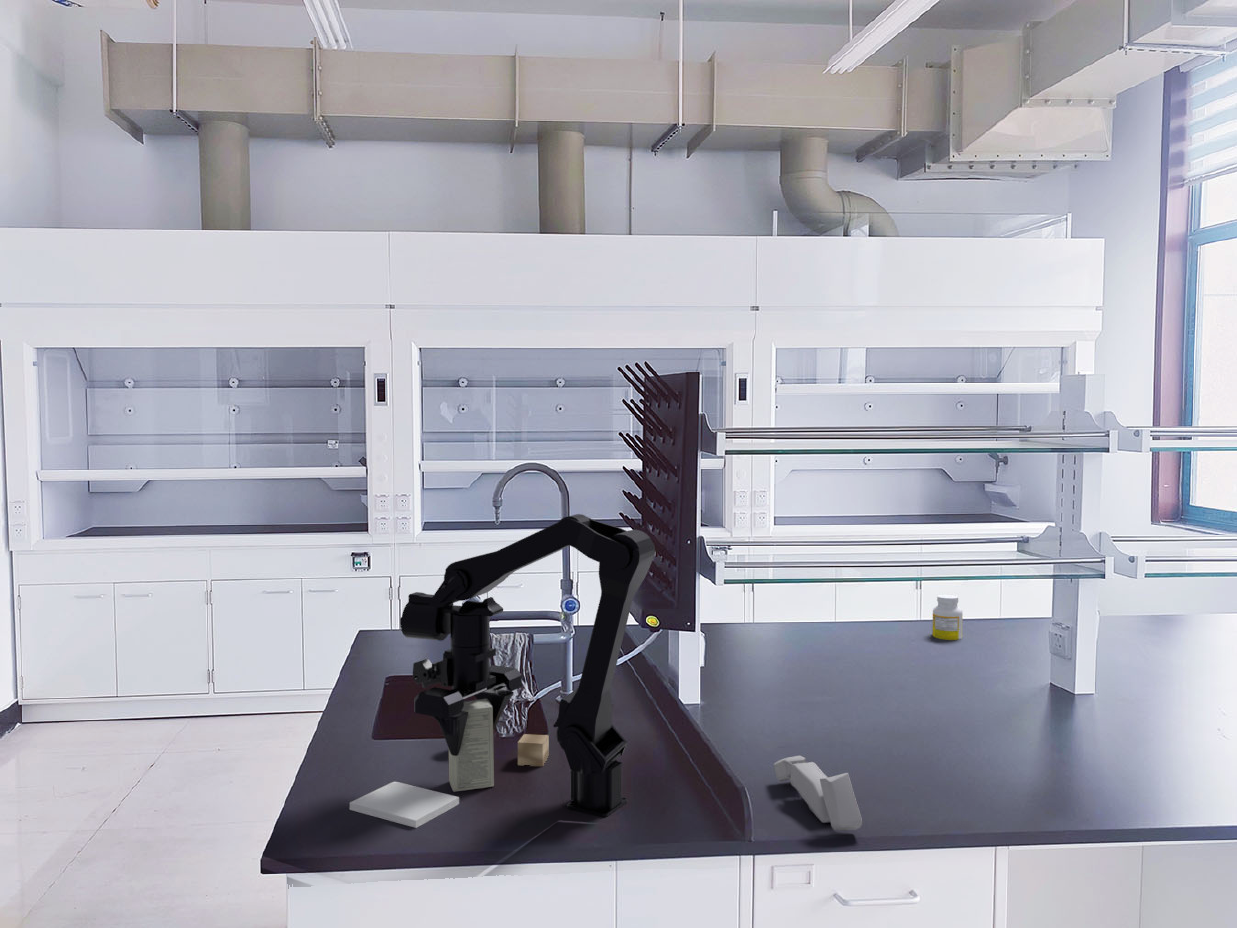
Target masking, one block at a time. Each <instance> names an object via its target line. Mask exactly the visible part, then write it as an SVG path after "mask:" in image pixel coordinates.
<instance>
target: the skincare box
mask: <svg viewBox="0 0 1237 928" xmlns="http://www.w3.org/2000/svg"><path fill="white" fill-rule="evenodd" d="M462 711H466V712H468V717H467V722H466V726H465V730H464V735H463V739H462V744H461V748H460V751H459V754H458V755H457V756H454V755H451V753H450V750H449V749H448V779H449V781H448V782H449V784H450V787H451V790H452V792H454V793H455V792H462V791H463V792H464V791H469V790H475V789H477V790H478V789H485V788H486V789H487V788H491V787H494V785H495V775H494V774H495V773H494V771H495V769H494V768H495V767H494V732H493V707H492V705H491V704H490V702H489V701H488V699H479V700H477V699H473V700H472V699H471V700H464V707H463V709H462Z"/></svg>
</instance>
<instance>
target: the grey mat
mask: <svg viewBox="0 0 1237 928" xmlns="http://www.w3.org/2000/svg"><path fill="white" fill-rule="evenodd" d="M459 805H460V797H459V796H455V795H453V794H448V793H443V792H440V791H435V790H432V789H427V788H424V787H419V786H416V785H411V784H407V783H404V782H398V781H392V782H389V783H388V784H385V785H384V786H382V787H379V788H377V789H376V790H373V791H371V792H369V793H367V794H365V795H362V796H360V797H358V798H357V799H355V800H352V801H350V802H349V811H353V812H357V813H360V814H363V815H367V816H372V817H375V818H379V819H382V820H386V821H389V822H392V823H397V824H400V825H404V826H407V827H412V828H415V829H417V828H418V827H420V826H422V825H424V824H426V823H428V822H431V820H433V819H435V818H436V817H439V816H441V815H442V814H444V813H446V812H448V811H450V810H451V809H453V808H455V807H456V806H459Z"/></svg>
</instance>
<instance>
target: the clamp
mask: <svg viewBox="0 0 1237 928" xmlns="http://www.w3.org/2000/svg"><path fill="white" fill-rule="evenodd" d="M773 767H774V768H773V769H774V772H775V777H776V779H777V780H778V782H786V781H790V785H791V786H792V787H793V788H794V789H796V791H797V792H798V793H799V794H800V796H801V797H802V798H803V800H804V801H805V803H806V804H807V806H808V808H809V811H811V812H812V814H813V815H814V816H815V817H816V818H817V819H818V820H819V821H820V822H821V823H822V824H826V823H827V824H828V823H830V825H831V828H832V829H833V830H834V831H836V832H838V831H839V832H840V831H853V830H855V831H856V830H858V829H860V828H862V824H863V819H862V815H861V812H860V809H859V805H858V802H857V799H856V796H855V793H854V788H853V786H852V782H851V778H850V775H849V774H850V773H849V772H845V773H840V774H837V775H833V776H829V777H828V776H827V775H826V774H825V773H824V772H823V771H822V770H821V769H820V767H819V766H818V765H817V764H816V763H815V762H813V761H810V762H807V761H806V757H803V756H802V755H794V756H790V757H789V756H788V757H785V758H783V759H779V760H777V761H776V762H775V763H773Z"/></svg>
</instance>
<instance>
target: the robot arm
mask: <svg viewBox="0 0 1237 928" xmlns="http://www.w3.org/2000/svg"><path fill="white" fill-rule="evenodd" d="M569 547H572V548H574V549H576V550H577V551H579V552H580V553H581V554H582V555H584V556H586V557H587V558H589V559H591V560H592V561H595V562H598V563H599V564H598V577H599V584H600V591H601V592H600V597H599V603H598V607H597V610H596V615H595V618H594V621H593V626H592V627H593V628H592V630H591V631H592V632H591V635H590V639H589V643H588V648H587V651H586V655H585V660H584V663H583V669H582V672H581V676H580V681H579V684H578V687H577V688H576V689H574V690H573V691H571V692H570V693H568V694H567V695H565V696H564V697H562V698H561V699H560V702H559V706H558V715H557V718H556V721H555V723H554V724H553V725H552V726H553V728H557V729H556V741H557V743H559V745H560V748H561V749H562V750H563V751H564V753H565V756H566V759H567V763H568V765H569V766H568V767H569V769H570V773H569V774H570V776H569V777H570V779H569V781H570V785H569V786H570V789H569V790H570V791H569V793H570V794H569V795H570V796H569V797H570V800H571V801H569V802H568V803H567V804H566V808H567V809H569V810H572V811H575V812H582V813H585V814H590V815H594V816H598V817H601V818H606V817H609V816H610V815H611V814H612V813H614V812H616V811H617V810H618V809H620V808H621V807H623V806H624V805H625V804H626V803H628V797H624V796H623V763H622V762H621V761H618V760H617V759H618V758H619V757H621V756H623V755H624V753H625V750H626V747H627V744H628V741H627V740H626V739H625V738H624V737H623V735H622V734H621V733H620V732H619V731H618V729H617V728H616V727H615V726H614V725H613V724H612V723H613V722H612V721H613V710H614V708H613V703H612V702H613V701H612V695H611V688H612V684H613V680H614V676H615V673H616V668H617V664H618V661H619V656H620V652H621V649H622V648H621V646H622V644H623V640H624V636H625V632H626V628H627V623H628V621H629V615H630V611H631V609H632V605H633V599H634V597H635V595H636V593H637V592H638V589H639V588H640V587H641V585H642V583H643V581H644V580H645V578H646V576H647V574H648V572H649V569H650V568H651V565H652V563H653V560H654V558H655V555H656V547H655V544H654V542H653V540H652V538H651V537H650V536H649V535H648V534H647V533H646V532H644V531H642V530H641V529H639V530H638V529H630V530H626V529H623V528H621V527H618V526H615V525H611V524H609V523H605V522H602V521H598V520H595V519H593V518H591V517H588V516H586V515H585V514H579V513H578V514H577V513H576V514H573V515H568V516H564V517H562V518H560V520H559V521H557V522H555V523H554V524H552V525H550V526H547V527H544V528H543V529H541V530H539V531H536V532H534V533H532V534H531V535H528V536H526V537H524V538H522V539H520V540H517V541H516V542H513V543H510V544H509V545H507V546H505V547H502V548H500V549H498V550H497V551H495V550H494V551H492V552H488V553H484V554H480V555H475V556H472V557H467V558H465V559H461V560H458V561H454V562H451V563H450V564H448V565H447V566H446V568H445V573H444V575H443V581H442V583H441V584H440V586H438V587H439V588H437V590H436V591H435V592H434V594H429V593H428V594H427V593H425V592H422V591H421V592H418V591H417V592H412V593H410V594H409V593H408V602H406V605H405V606H404V608H403V610H402V614H401V617H400V619H399V620H400V621H399V624H400V625H399V626H400V630H401V632H402V635H403V636H404V637H406V638H407V639H420V640H427V641H428V640H430V641H439V642H442V641H444V640H445V639H447V637H448V635H450V649H447V650H444V652H443V653H442V659H441V660H438V661H435V662H433V663H432V662H431V661H430V659H429V658H424V659H423V660H419V661H416V662H413V664H412V666H413V667H412V678H413V681H414V683H416V684H417V685H420V684H421V685H422V688H423V689H426V688H428V687H430V686H432V685H436V684H440V686H441V687H445V688H440V687H435V686H434V687H431V688H430V689H426V690H423V691H421V692H419V693H418V694H417V695H416V696H415V697H414V698H413V700H414V703H413V704H414V714H418V715H423V716H424V715H425V716H430V717H432V718H433V719H434V720H436V721H437V723H438V725H439V727H440V729H441V732H442V734H443V737H444V740H445V743H446V745H447V748H448V751H449V750H450V753H451V755H454V756H457V755H458V754H459V751H460V748H461V744H462V739H463V735H464V730H465V726H466V722H467V717H468V712H466V711H462V709H463V707H464V701H465V700H467V699H469V698H472V697H474V698H475V700H479V699H488V701H489V702H490V704H491V705H492V707H493V733H494V731H495V729H496V727H497V726H498V723H499V720H500V718H501V716H502V714H503V712H504V710H505V709H506V706H507V705H508V704H509V701H510V700H511V697H513V696H514V694H515V693H514V691H516V690H518V689H521V688H522V687H523V684H522V683H523V680H522V679H523V675H522V673H521V672H520V671H519V669H518V668H514V667H507V666H502V665H497V664H494V665H493V664H492V665H491V658H492V657H495V656H497V654H496V653H497V649H496V648H491V646H490V644H491V643H490V642H491V641H490V638H491V637H490V633H491V632H490V631H491V630H490V623H491V622H490V617H494V616H496V615H499V614H501V613H503V612H504V608H503V606H501V605H500V604H499V603H498V602H496V601H495V599H494V597H493V596H490V597H488V598H485V599H483V600H482V601H474V600H470V599H472V598H475V597H478V596H482V595H485V594H487V593H488V592H491V590H493V589H495V588H496V587H497V586H498V585H500V584H502V583H503V582H504V581H505V580H506V579H507V578H509V576H511V575H512V574H513V573H515V572H517V571H519V570H520V569H523V568H526V567H528V566H530V565H532V564H534V563H536V562H538V561H540V560H542V559H545V558H547V557H549V556H551V555H553V554H555V553H557V552H561V551H562V550H564V549H567V548H569ZM463 601H464V603H463V604H462V605H454V603H457V602H463ZM448 687H451V689H447V688H448Z"/></svg>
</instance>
